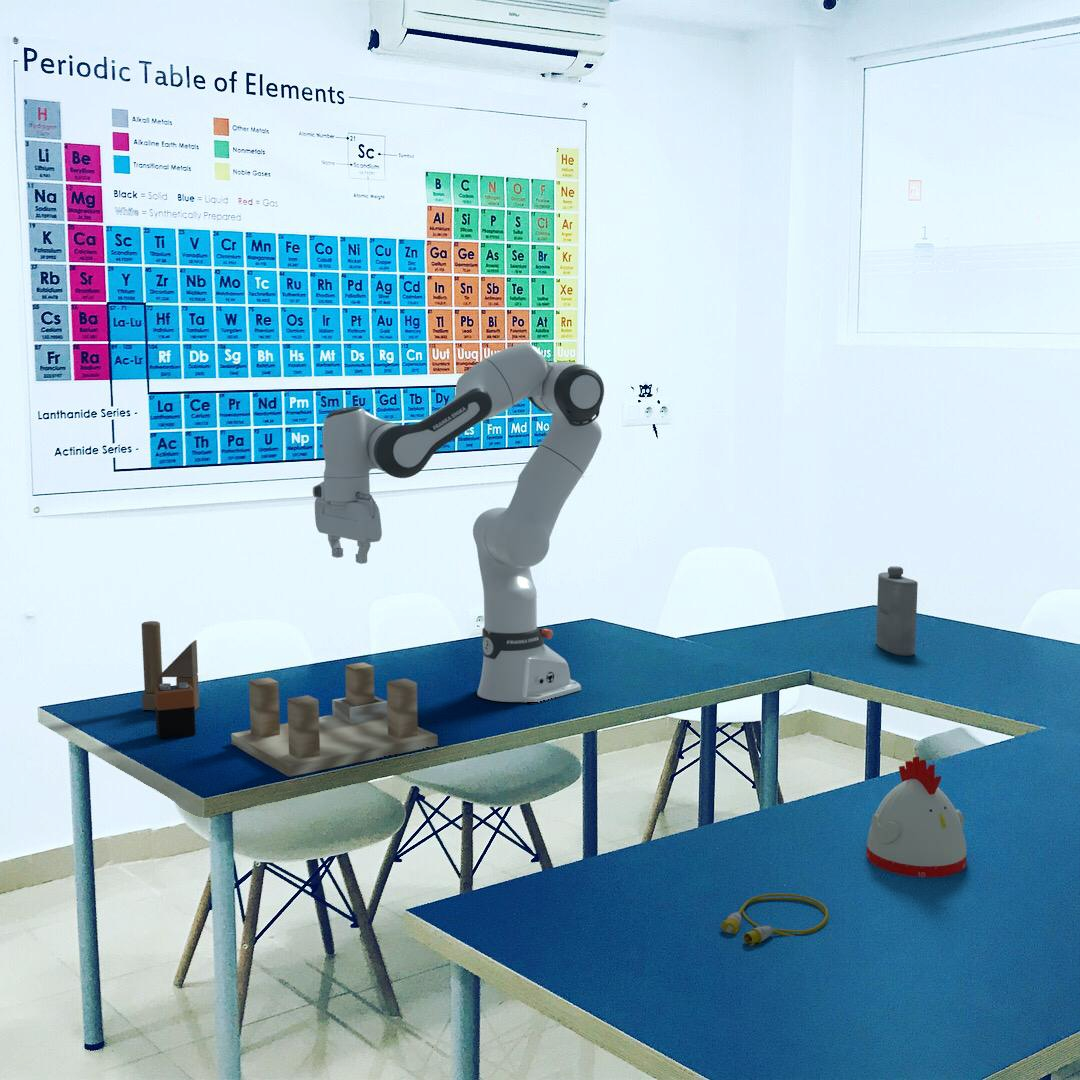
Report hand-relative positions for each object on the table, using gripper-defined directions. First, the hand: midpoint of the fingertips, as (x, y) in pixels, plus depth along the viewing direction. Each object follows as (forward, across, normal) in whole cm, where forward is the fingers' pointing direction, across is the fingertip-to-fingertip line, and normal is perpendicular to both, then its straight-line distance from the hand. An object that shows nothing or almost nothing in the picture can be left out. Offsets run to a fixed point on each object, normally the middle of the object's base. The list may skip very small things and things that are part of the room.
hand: (349, 560), depth 268 cm
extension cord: (+32, -119, +7) cm, 124 cm away
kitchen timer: (+32, -118, -25) cm, 124 cm away
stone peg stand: (+31, -17, +14) cm, 38 cm away
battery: (+31, +8, +34) cm, 47 cm away
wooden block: (+31, +26, +28) cm, 49 cm away
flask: (+33, -31, -131) cm, 138 cm away
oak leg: (+29, -9, +4) cm, 31 cm away
